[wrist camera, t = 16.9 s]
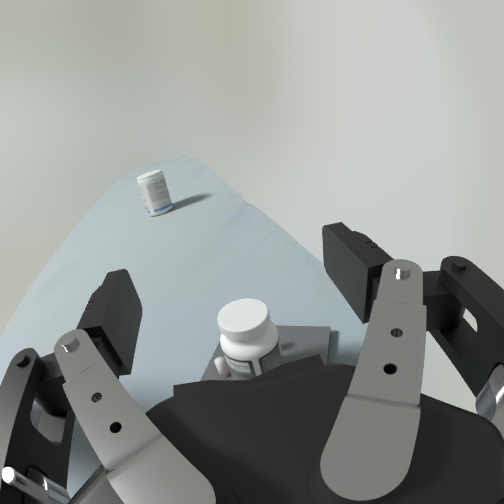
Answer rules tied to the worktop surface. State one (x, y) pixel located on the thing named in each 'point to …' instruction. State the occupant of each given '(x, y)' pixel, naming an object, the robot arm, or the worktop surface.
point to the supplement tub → (155, 193)
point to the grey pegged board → (292, 345)
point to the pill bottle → (249, 339)
